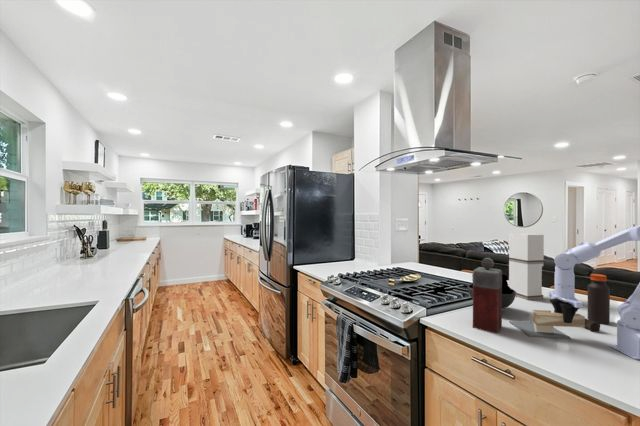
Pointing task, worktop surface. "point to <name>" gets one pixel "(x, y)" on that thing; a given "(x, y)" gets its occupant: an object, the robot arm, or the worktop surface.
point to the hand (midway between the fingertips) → (564, 320)
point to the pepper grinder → (487, 297)
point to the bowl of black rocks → (507, 292)
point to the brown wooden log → (591, 325)
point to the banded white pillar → (526, 265)
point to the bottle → (599, 299)
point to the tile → (543, 328)
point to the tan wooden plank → (557, 319)
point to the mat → (529, 330)
